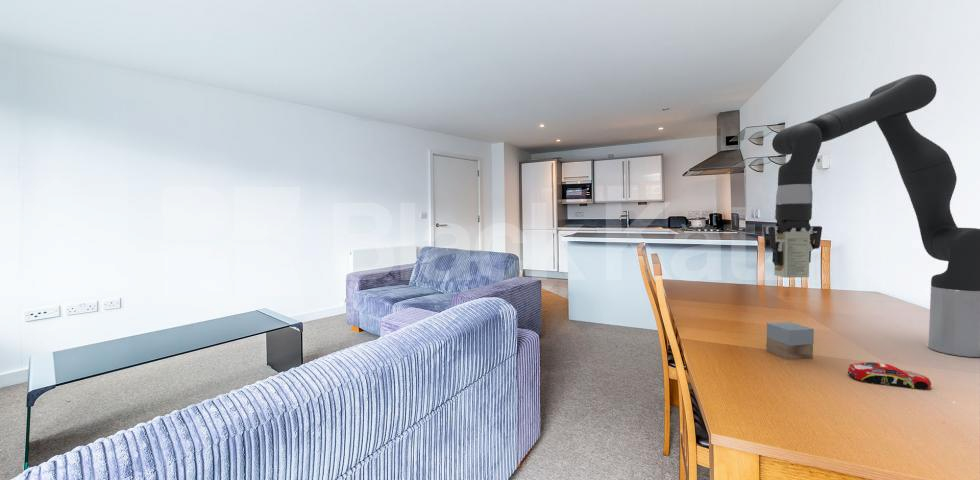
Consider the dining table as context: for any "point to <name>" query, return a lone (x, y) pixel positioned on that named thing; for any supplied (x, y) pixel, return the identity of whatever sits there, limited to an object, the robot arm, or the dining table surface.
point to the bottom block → (789, 350)
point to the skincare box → (794, 254)
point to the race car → (888, 375)
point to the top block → (790, 333)
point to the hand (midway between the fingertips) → (791, 264)
